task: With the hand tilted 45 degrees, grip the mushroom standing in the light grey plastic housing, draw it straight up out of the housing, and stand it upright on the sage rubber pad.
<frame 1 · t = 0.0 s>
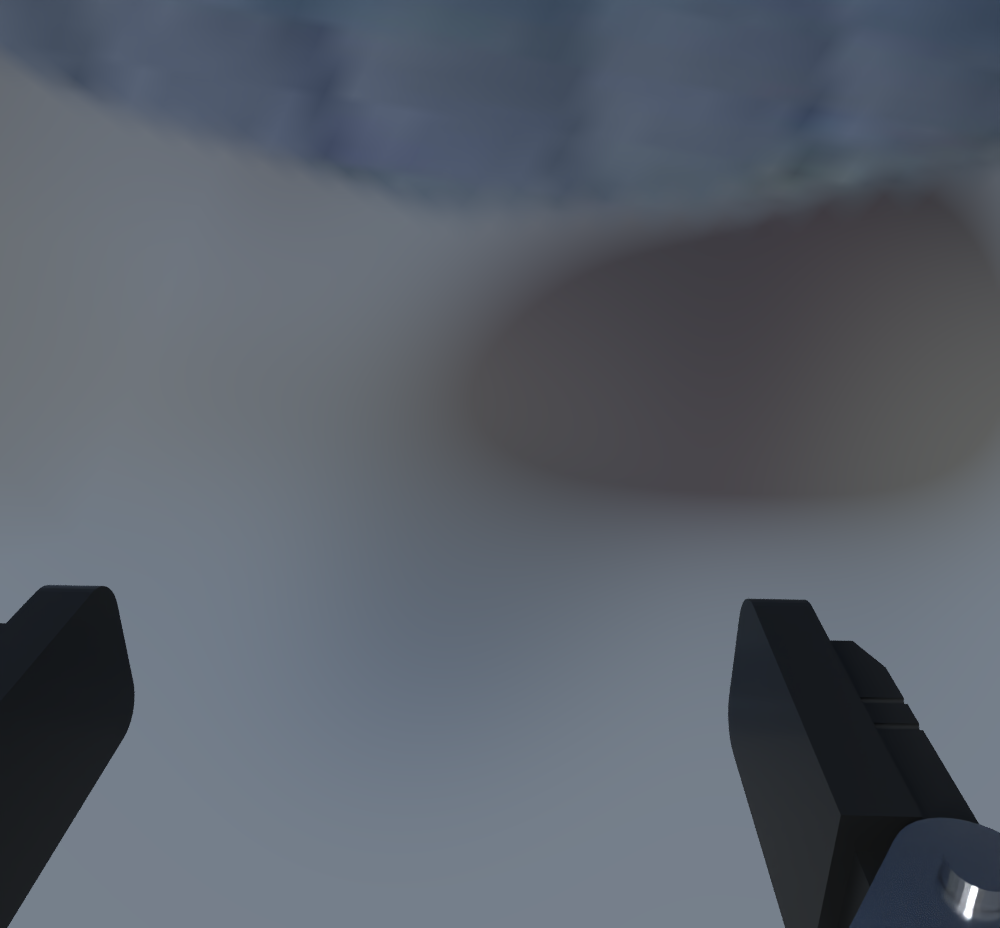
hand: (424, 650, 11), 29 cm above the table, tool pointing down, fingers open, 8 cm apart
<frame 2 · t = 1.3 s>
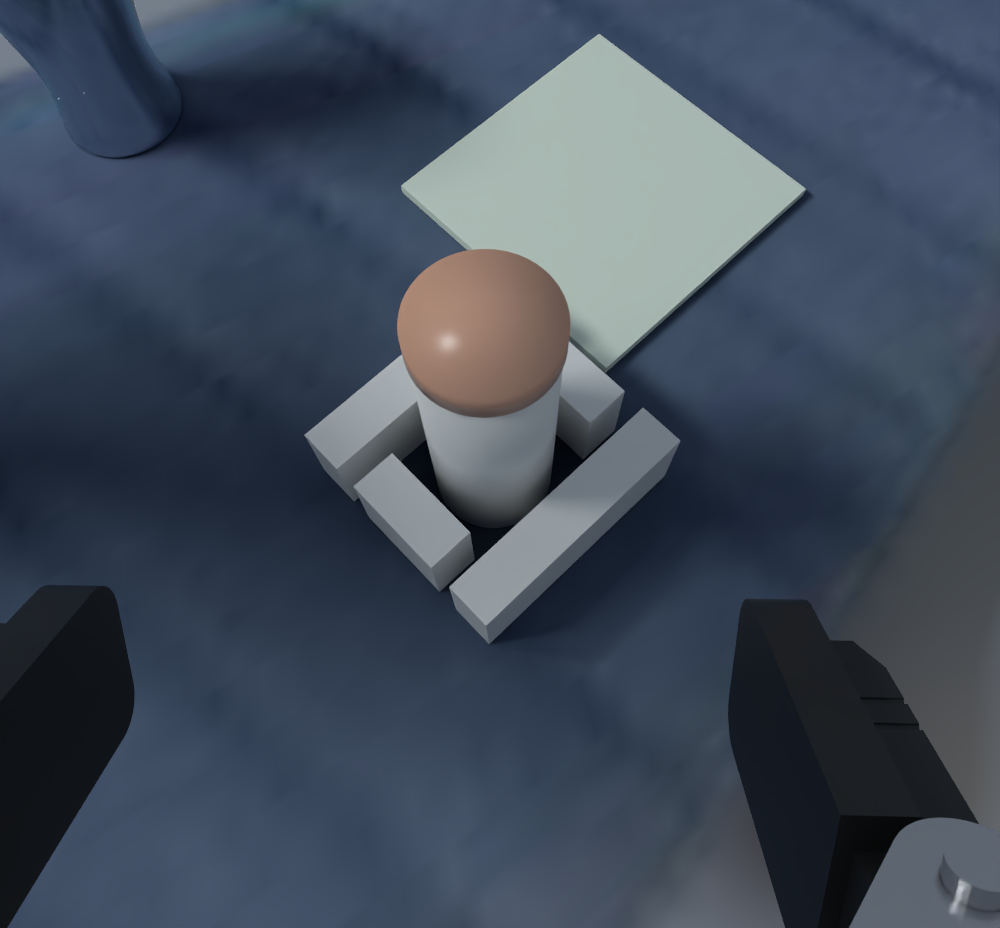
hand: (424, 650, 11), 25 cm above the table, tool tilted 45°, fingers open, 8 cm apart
mushroom: (493, 473, 39), resting in housing
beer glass: (126, 114, 46), on the table
pad: (601, 193, 44), on the table
housing: (493, 473, 39), on the table
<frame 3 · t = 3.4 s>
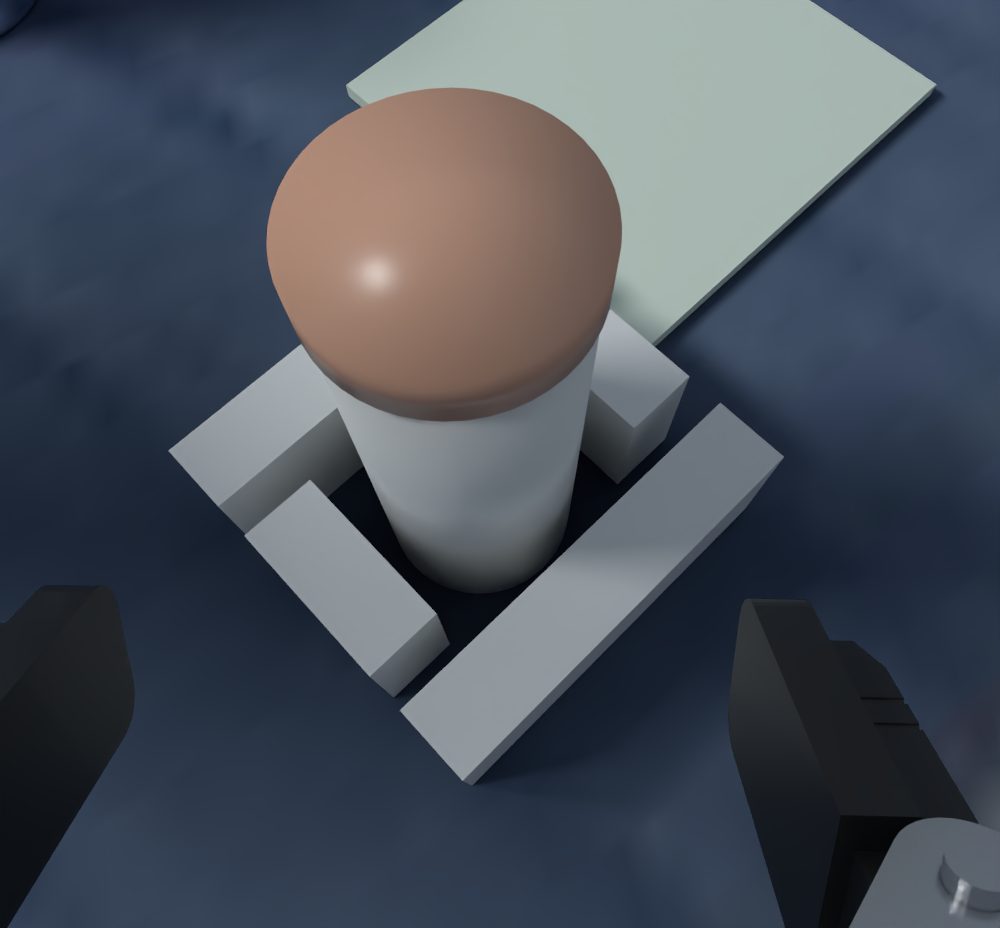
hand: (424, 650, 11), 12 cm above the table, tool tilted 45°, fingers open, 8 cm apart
mushroom: (480, 506, 25), resting in housing
pad: (636, 95, 30), on the table
housing: (480, 506, 25), on the table
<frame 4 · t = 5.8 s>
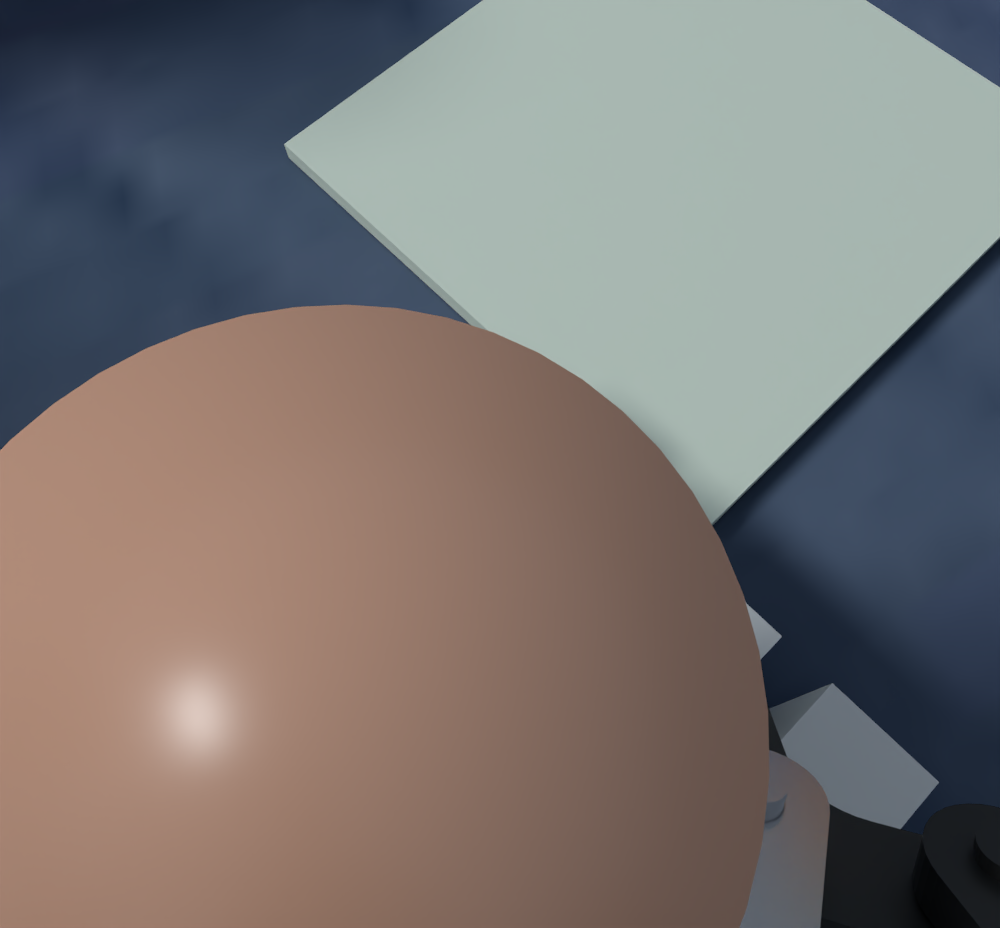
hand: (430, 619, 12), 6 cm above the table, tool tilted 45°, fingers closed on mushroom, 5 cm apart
mushroom: (456, 777, 17), resting in housing, touching gripper
pad: (678, 159, 22), on the table
housing: (458, 778, 17), on the table
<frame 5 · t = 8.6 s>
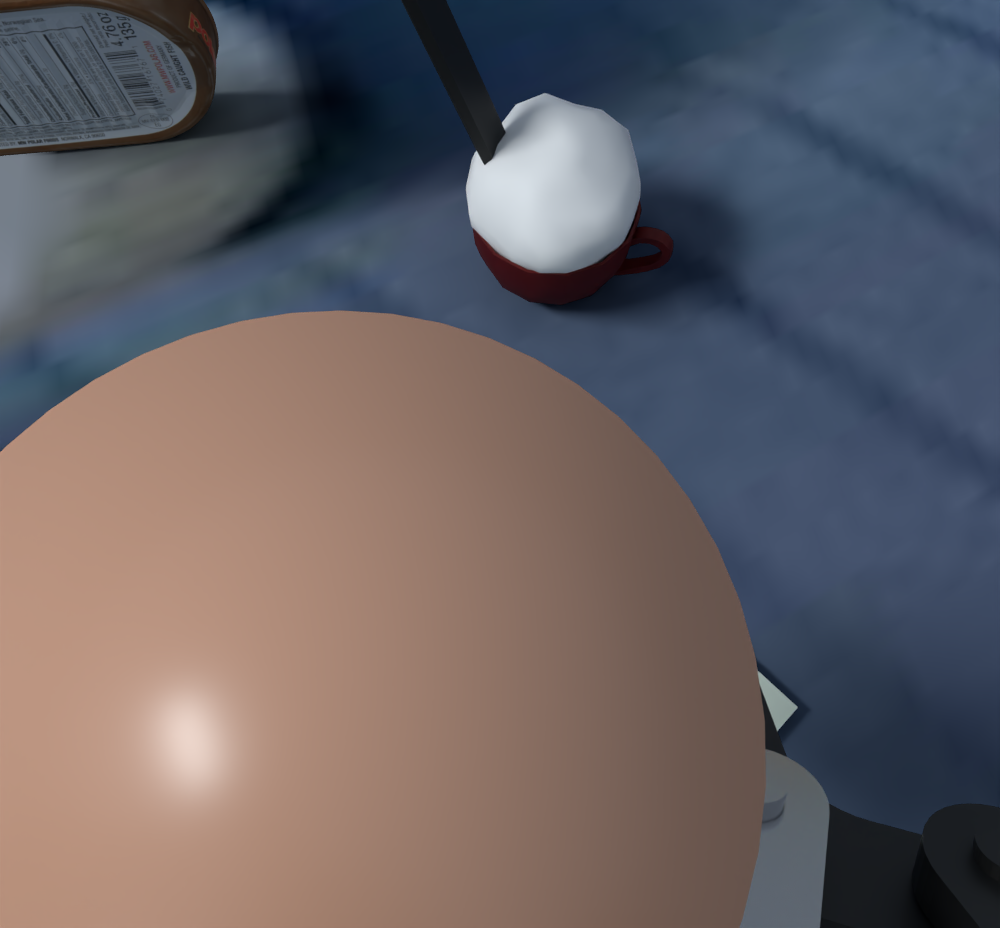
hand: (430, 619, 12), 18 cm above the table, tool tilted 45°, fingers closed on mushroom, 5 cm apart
mushroom: (457, 780, 17), point 12 cm above the table, touching gripper
pad: (490, 708, 29), on the table
cocoa: (546, 257, 36), on the table
tin: (72, 138, 39), on the table
when the fingers open (8 cm above the table, at t = 11.7 s): mushroom drops 1 cm, resting on pad.
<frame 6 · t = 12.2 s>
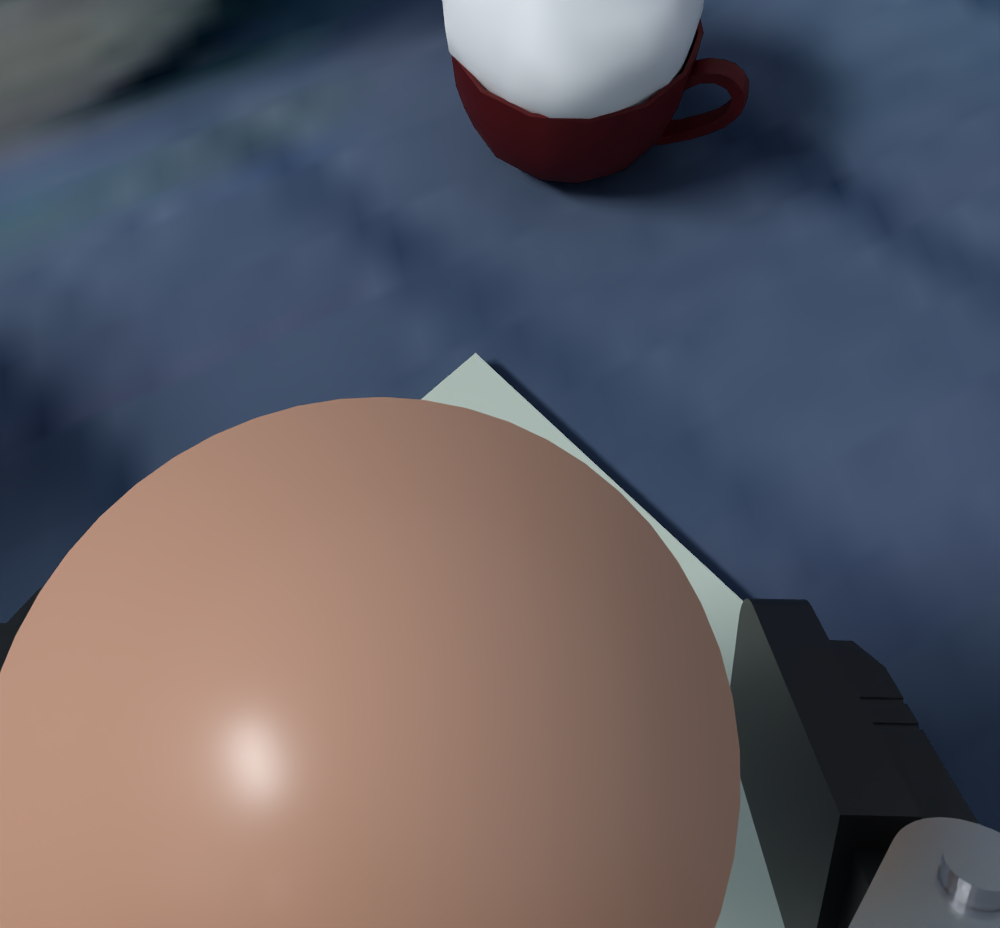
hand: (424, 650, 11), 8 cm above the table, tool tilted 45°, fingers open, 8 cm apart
mushroom: (461, 786, 18), point 1 cm above the table, touching pad
pad: (461, 780, 19), on the table
cocoa: (559, 124, 25), on the table
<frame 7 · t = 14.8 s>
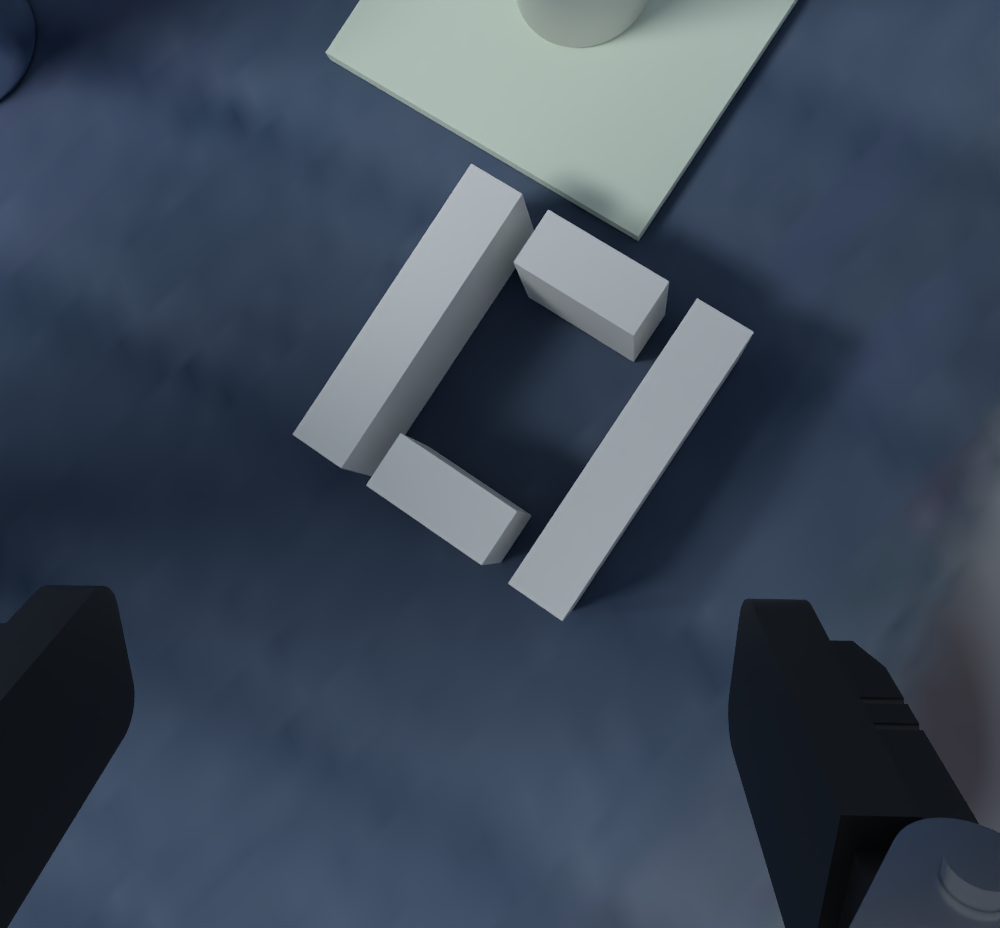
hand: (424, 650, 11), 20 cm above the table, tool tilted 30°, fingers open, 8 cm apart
housing: (530, 405, 32), on the table
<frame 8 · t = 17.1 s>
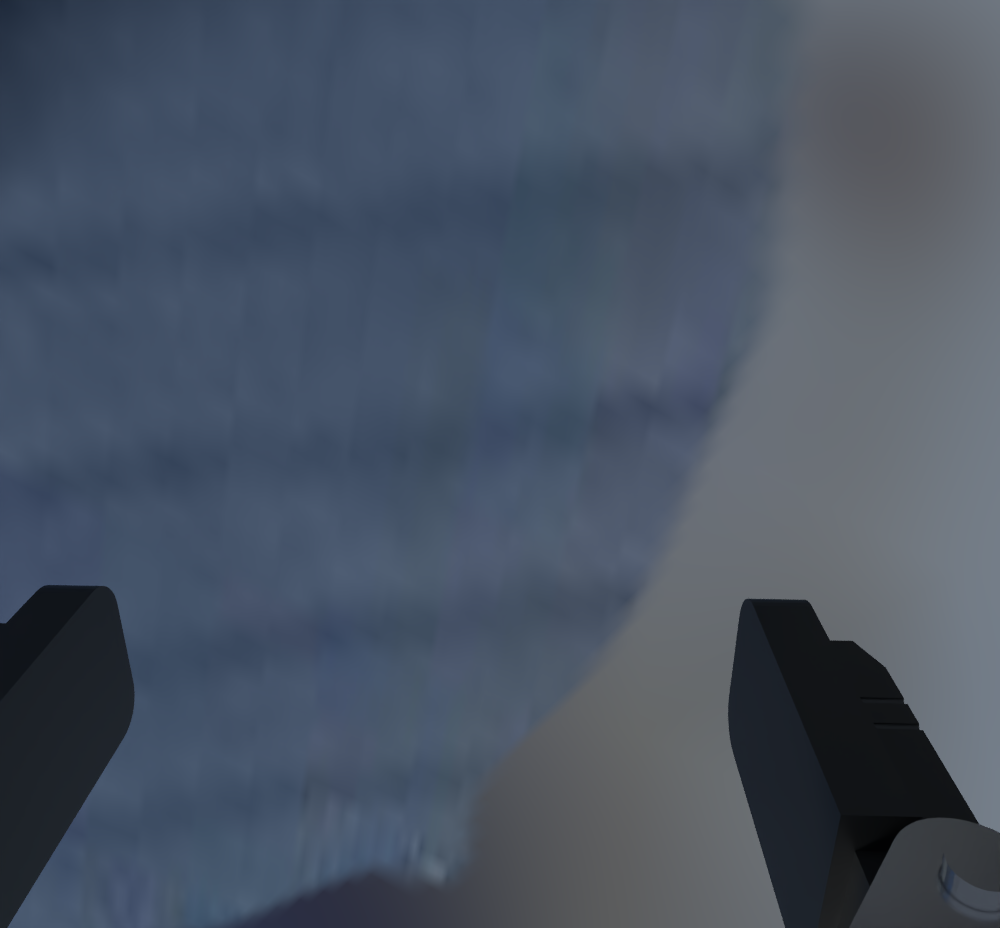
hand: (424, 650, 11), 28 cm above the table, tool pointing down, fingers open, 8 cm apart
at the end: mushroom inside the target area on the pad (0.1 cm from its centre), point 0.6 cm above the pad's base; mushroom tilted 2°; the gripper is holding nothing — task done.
